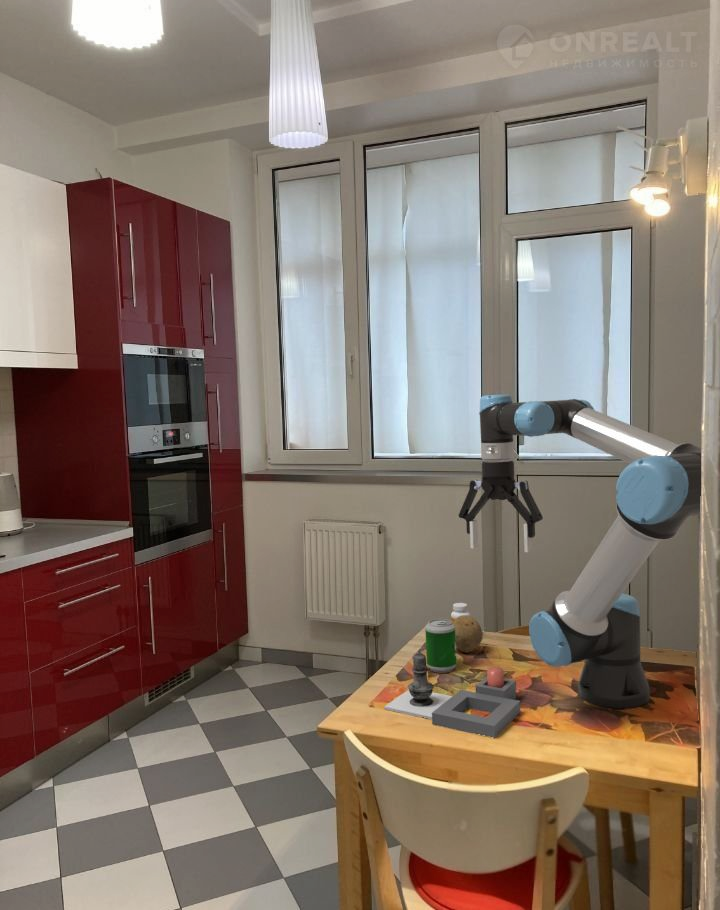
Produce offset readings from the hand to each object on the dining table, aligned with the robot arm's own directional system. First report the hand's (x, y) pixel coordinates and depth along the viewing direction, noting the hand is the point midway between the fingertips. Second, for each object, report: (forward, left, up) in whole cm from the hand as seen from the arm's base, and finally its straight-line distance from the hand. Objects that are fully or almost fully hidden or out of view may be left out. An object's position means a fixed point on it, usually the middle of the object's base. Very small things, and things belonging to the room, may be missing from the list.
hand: (500, 549), depth 177 cm
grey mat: (+11, +22, -32) cm, 40 cm away
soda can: (+17, 0, -32) cm, 36 cm away
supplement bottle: (+23, -24, -32) cm, 46 cm away
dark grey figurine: (+11, +22, -31) cm, 40 cm away
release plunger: (-3, +12, -31) cm, 33 cm away
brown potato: (+17, -14, -32) cm, 39 cm away
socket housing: (-3, +20, -32) cm, 37 cm away
